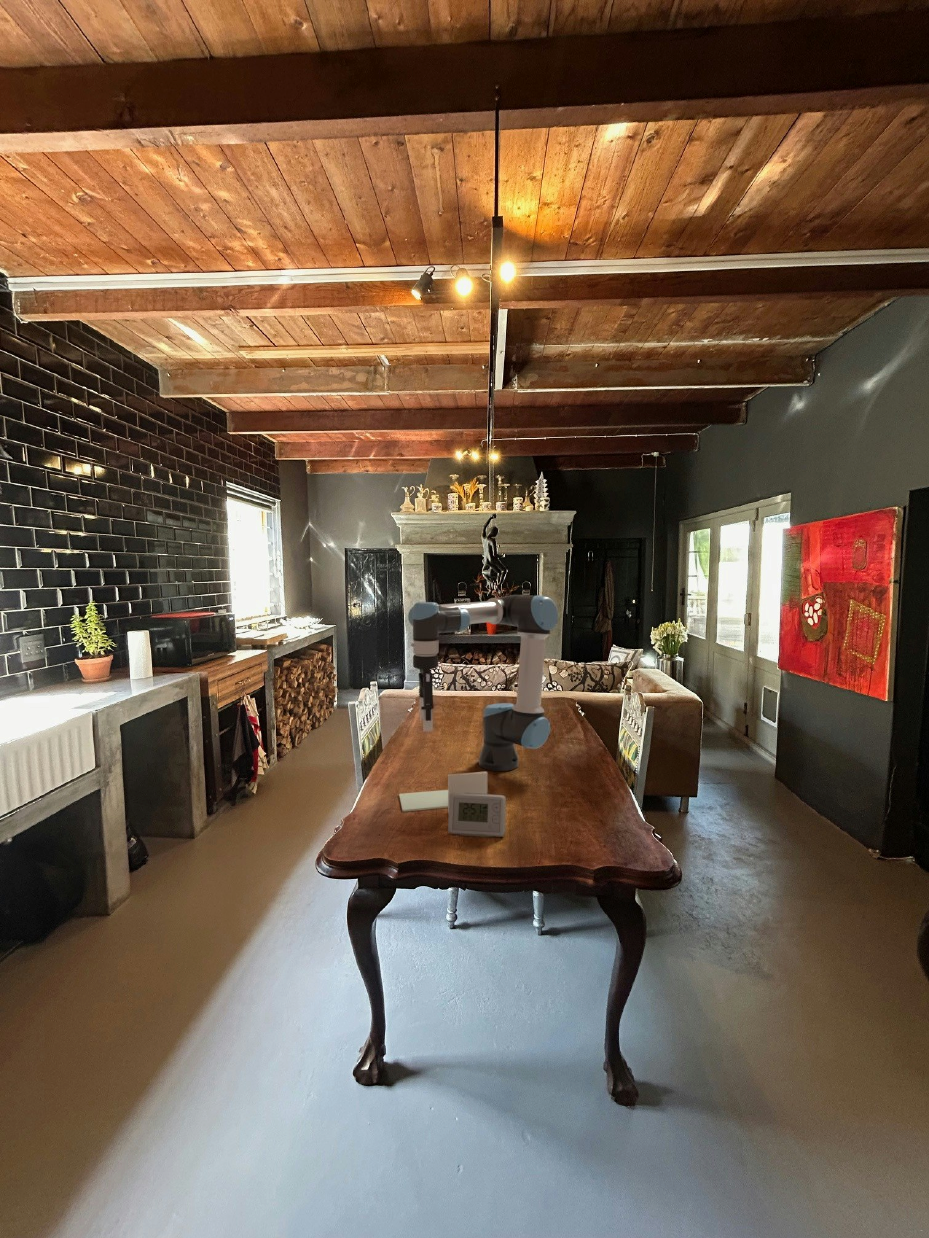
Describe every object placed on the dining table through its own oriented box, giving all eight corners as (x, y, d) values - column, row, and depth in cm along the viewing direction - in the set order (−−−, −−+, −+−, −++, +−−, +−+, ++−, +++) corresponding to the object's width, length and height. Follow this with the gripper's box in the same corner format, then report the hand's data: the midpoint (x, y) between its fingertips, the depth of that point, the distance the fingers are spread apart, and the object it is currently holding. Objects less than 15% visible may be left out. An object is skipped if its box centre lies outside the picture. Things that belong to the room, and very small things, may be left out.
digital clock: (444, 834, 149) (444, 798, 148) (455, 820, 158) (455, 785, 157) (501, 844, 144) (501, 806, 143) (509, 829, 153) (509, 793, 152)
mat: (456, 790, 179) (456, 789, 179) (463, 806, 167) (463, 804, 167) (399, 795, 175) (399, 793, 175) (402, 811, 163) (402, 809, 163)
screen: (485, 807, 166) (485, 770, 165) (488, 812, 163) (488, 774, 162) (447, 810, 164) (447, 772, 163) (449, 816, 160) (449, 777, 159)
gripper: (410, 648, 170) (410, 713, 172) (416, 661, 146) (416, 737, 148) (433, 648, 172) (433, 712, 173) (443, 660, 147) (443, 736, 149)
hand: (425, 724), depth 161 cm, fingers open, 13 cm apart
